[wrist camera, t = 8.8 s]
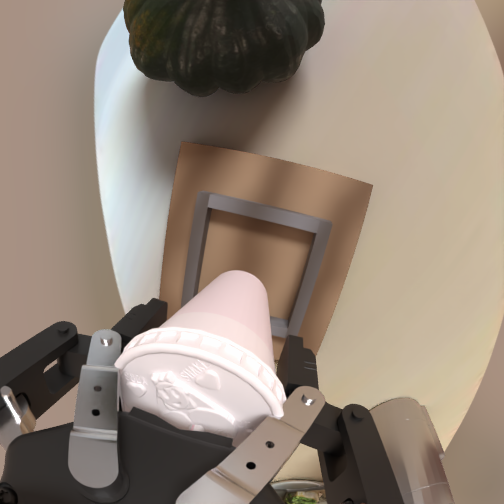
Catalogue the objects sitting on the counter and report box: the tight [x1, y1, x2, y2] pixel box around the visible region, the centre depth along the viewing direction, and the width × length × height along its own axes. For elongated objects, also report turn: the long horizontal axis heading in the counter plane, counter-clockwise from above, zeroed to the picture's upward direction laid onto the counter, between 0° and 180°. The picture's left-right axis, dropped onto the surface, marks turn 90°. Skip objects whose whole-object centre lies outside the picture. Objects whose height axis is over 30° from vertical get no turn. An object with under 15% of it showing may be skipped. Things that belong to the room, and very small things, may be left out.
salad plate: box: [270, 480, 327, 504], centre depth 36 cm, size 19×18×5 cm
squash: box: [123, 0, 325, 97], centre depth 14 cm, size 14×15×15 cm
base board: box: [159, 142, 373, 360], centre depth 24 cm, size 16×18×4 cm
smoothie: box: [114, 270, 287, 448], centre depth 11 cm, size 6×6×14 cm
